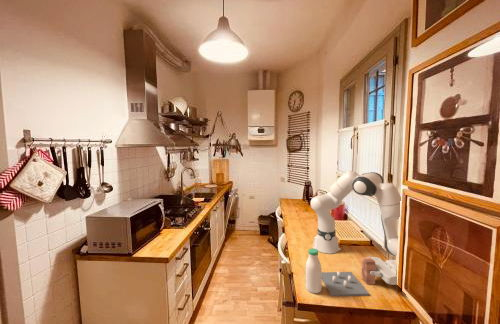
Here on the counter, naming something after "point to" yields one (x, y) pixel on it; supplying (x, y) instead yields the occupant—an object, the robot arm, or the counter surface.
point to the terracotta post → (366, 266)
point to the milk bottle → (313, 272)
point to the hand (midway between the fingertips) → (366, 269)
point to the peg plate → (343, 284)
